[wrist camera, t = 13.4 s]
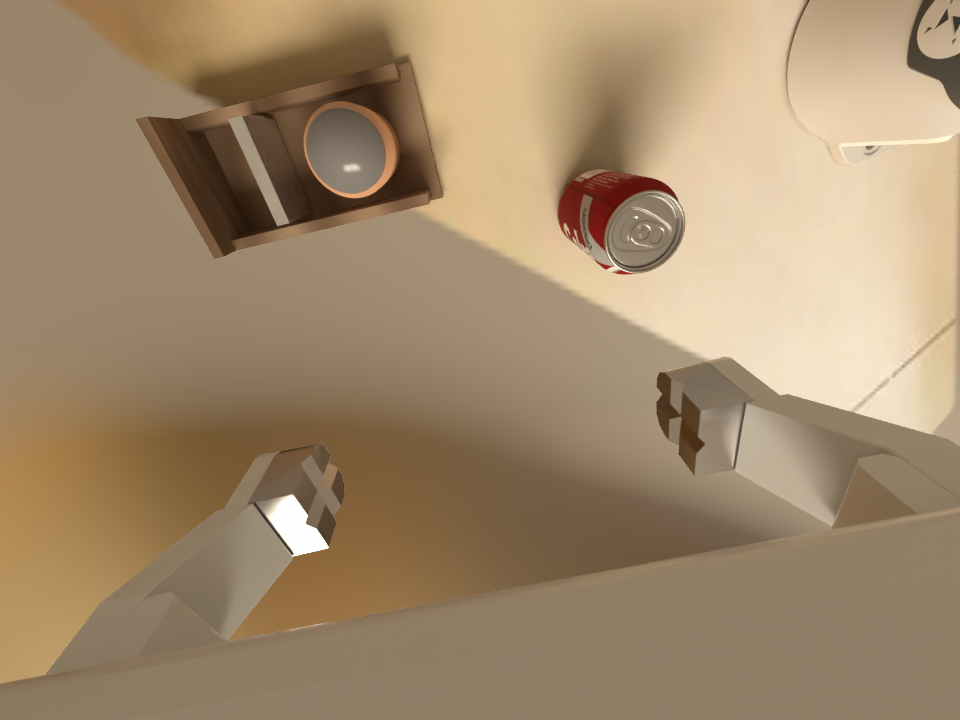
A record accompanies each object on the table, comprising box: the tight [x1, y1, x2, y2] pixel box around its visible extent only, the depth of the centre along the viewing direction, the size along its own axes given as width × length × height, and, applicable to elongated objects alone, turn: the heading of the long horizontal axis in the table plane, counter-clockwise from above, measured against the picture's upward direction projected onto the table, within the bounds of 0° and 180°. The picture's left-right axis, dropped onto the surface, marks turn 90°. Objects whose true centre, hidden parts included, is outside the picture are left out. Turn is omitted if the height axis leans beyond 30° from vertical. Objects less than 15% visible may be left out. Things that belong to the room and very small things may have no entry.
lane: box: [136, 63, 443, 258], centre depth 31 cm, size 18×10×7 cm, turn 102°
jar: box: [304, 101, 401, 198], centre depth 30 cm, size 6×6×7 cm
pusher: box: [228, 116, 312, 226], centre depth 30 cm, size 3×7×6 cm, turn 12°
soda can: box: [558, 169, 685, 274], centre depth 31 cm, size 7×7×12 cm
